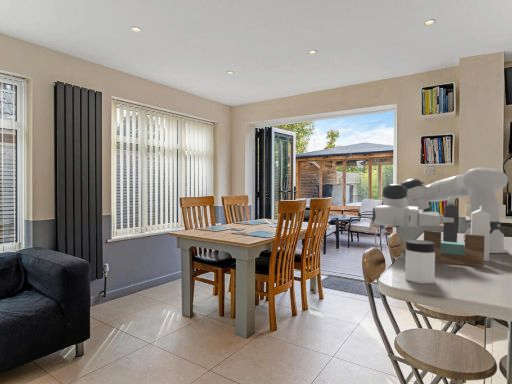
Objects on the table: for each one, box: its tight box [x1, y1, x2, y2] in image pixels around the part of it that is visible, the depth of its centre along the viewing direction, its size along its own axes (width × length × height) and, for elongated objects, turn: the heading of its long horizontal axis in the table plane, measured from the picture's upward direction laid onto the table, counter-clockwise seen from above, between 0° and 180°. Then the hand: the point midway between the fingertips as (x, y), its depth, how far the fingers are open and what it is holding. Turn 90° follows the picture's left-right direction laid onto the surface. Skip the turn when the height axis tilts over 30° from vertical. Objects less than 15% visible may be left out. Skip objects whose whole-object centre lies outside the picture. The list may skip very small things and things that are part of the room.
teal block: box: [441, 239, 465, 256], centre depth 130 cm, size 8×8×7 cm
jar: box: [404, 239, 436, 285], centre depth 100 cm, size 9×8×12 cm
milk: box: [470, 206, 490, 262], centre depth 132 cm, size 6×6×22 cm
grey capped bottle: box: [442, 197, 459, 243], centre depth 125 cm, size 4×4×17 cm
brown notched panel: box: [423, 230, 485, 267], centre depth 125 cm, size 2×20×12 cm, turn 61°
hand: (453, 219), depth 124 cm, fingers closed on grey capped bottle, 4 cm apart
